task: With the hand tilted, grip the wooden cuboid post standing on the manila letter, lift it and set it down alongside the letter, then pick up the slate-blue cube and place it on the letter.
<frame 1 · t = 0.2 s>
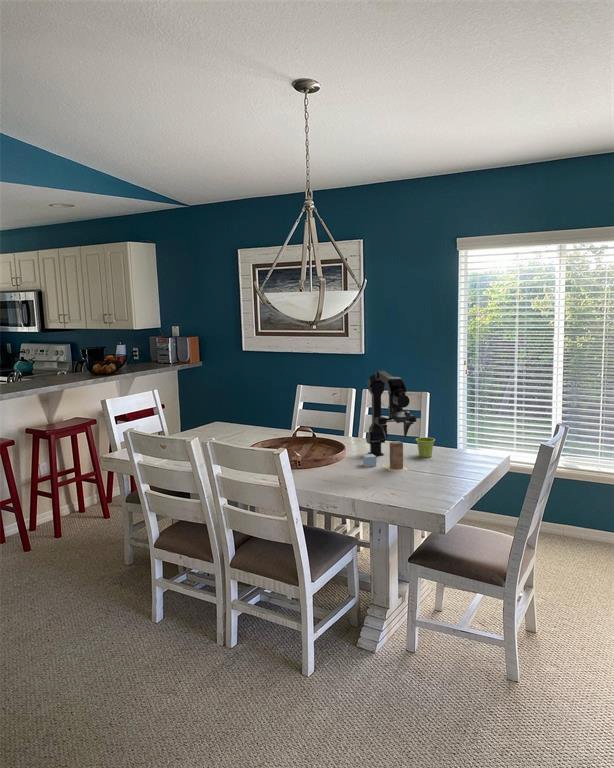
hand: (395, 437, 275), 15 cm above the table, tool pointing down, fingers open, 9 cm apart
plant pot: (425, 456, 297), on the table
slate cube: (369, 465, 283), on the table
wooden cuboid post: (396, 467, 277), resting on letter
letter: (394, 467, 278), on the table
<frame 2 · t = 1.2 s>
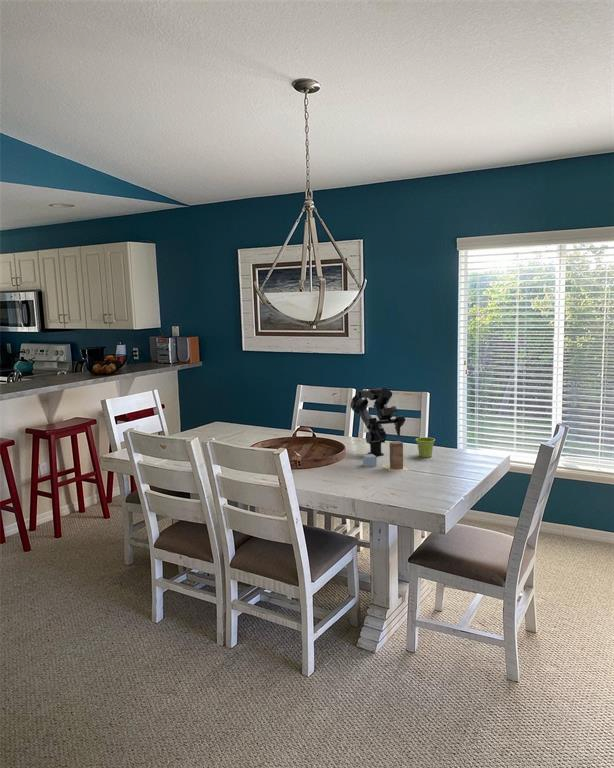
hand: (390, 436, 283), 13 cm above the table, tool tilted 45°, fingers open, 9 cm apart
nothing on the table moved.
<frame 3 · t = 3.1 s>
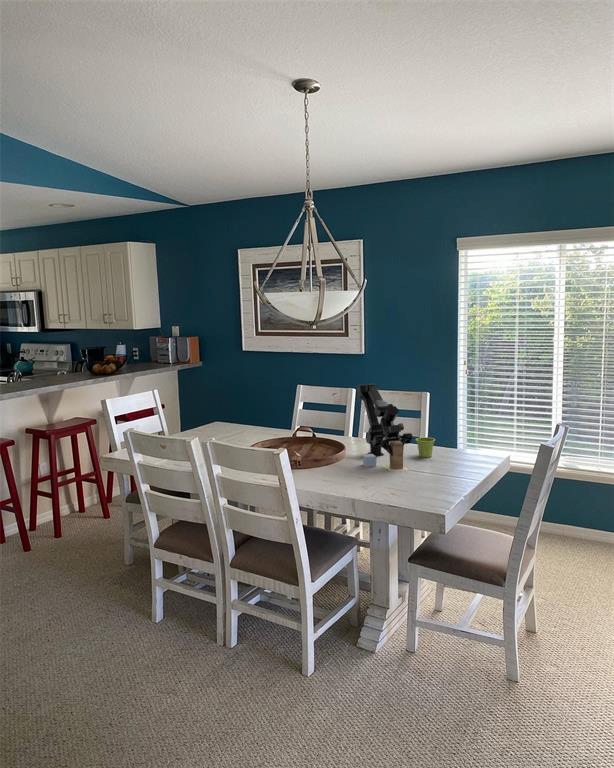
hand: (397, 455, 275), 7 cm above the table, tool tilted 45°, fingers closed on wooden cuboid post, 5 cm apart
wooden cuboid post: (396, 467, 277), resting on letter, touching gripper
everything else where it was.
when the fingers open (7 cm above the table, at t = 6.7 s): wooden cuboid post stays where it is, on the table.
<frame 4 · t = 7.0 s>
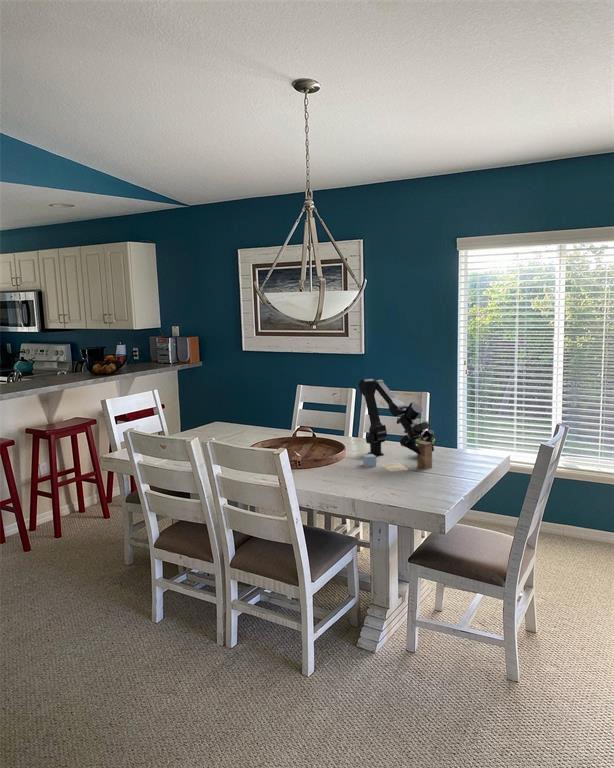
hand: (426, 452, 274), 8 cm above the table, tool tilted 45°, fingers open, 9 cm apart
wooden cuboid post: (424, 467, 276), on the table
everything else where it was.
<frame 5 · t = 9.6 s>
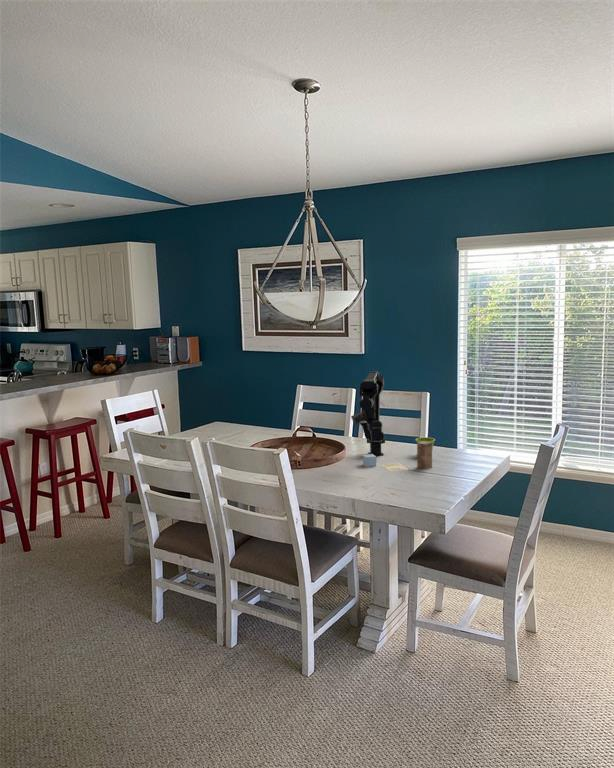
hand: (369, 439, 281), 13 cm above the table, tool pointing down, fingers open, 9 cm apart
nothing on the table moved.
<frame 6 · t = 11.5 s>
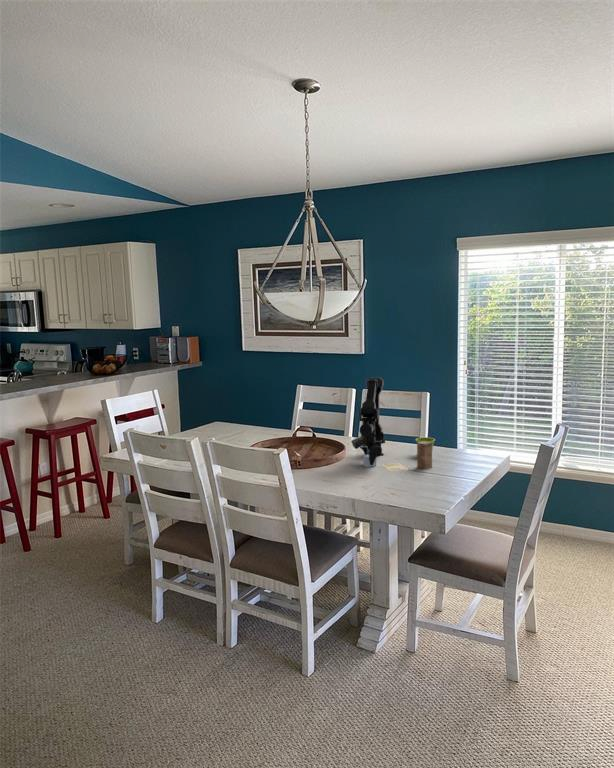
hand: (369, 463, 283), 1 cm above the table, tool pointing down, fingers closed on slate cube, 5 cm apart
slate cube: (369, 465, 283), on the table, touching gripper
everything else where it was.
when the fingers open (2 cm above the table, at t = 15.3 s): slate cube stays where it is, resting on letter.
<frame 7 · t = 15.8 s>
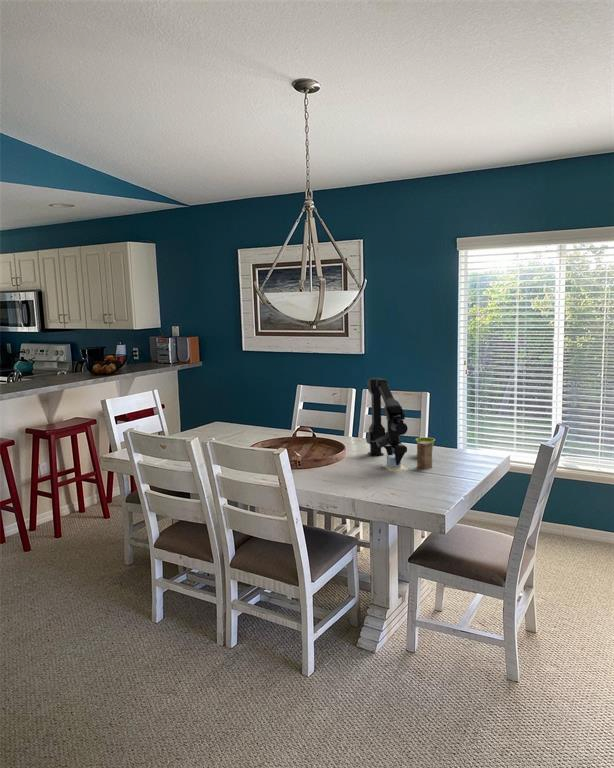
hand: (393, 462, 279), 2 cm above the table, tool pointing down, fingers open, 9 cm apart
slate cube: (393, 466, 279), resting on letter
everything else where it was.
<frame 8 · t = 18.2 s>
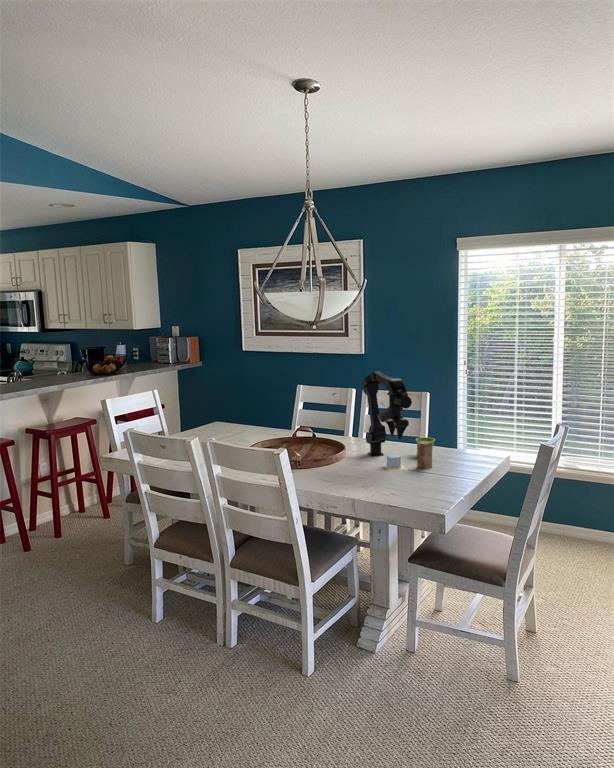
hand: (395, 437, 283), 13 cm above the table, tool pointing down, fingers open, 9 cm apart
nothing on the table moved.
at the end: slate cube inside the target area on the letter (1.0 cm from its centre), point 0.2 cm above the letter's base; wooden cuboid post touching table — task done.
